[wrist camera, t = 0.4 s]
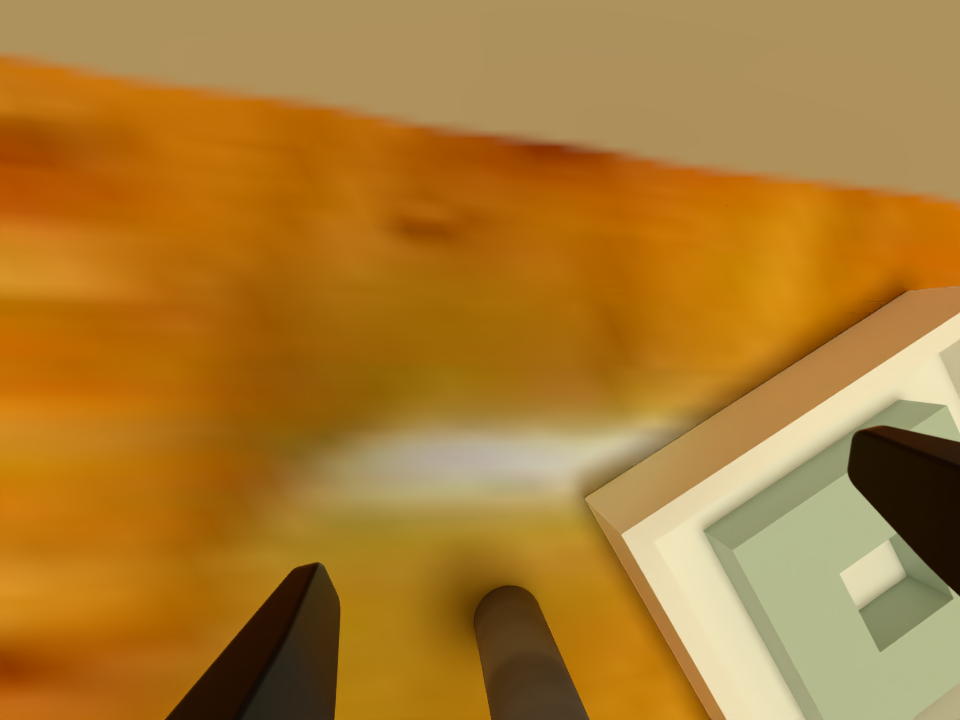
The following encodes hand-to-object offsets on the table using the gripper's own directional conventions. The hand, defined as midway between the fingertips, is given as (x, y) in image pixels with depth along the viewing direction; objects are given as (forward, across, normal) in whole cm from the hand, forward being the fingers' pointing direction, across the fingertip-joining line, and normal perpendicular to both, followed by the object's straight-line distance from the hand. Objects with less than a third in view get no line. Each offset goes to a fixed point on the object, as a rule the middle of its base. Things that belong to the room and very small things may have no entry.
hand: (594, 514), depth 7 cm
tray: (+10, -15, +16) cm, 24 cm away
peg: (+9, +2, +14) cm, 17 cm away
